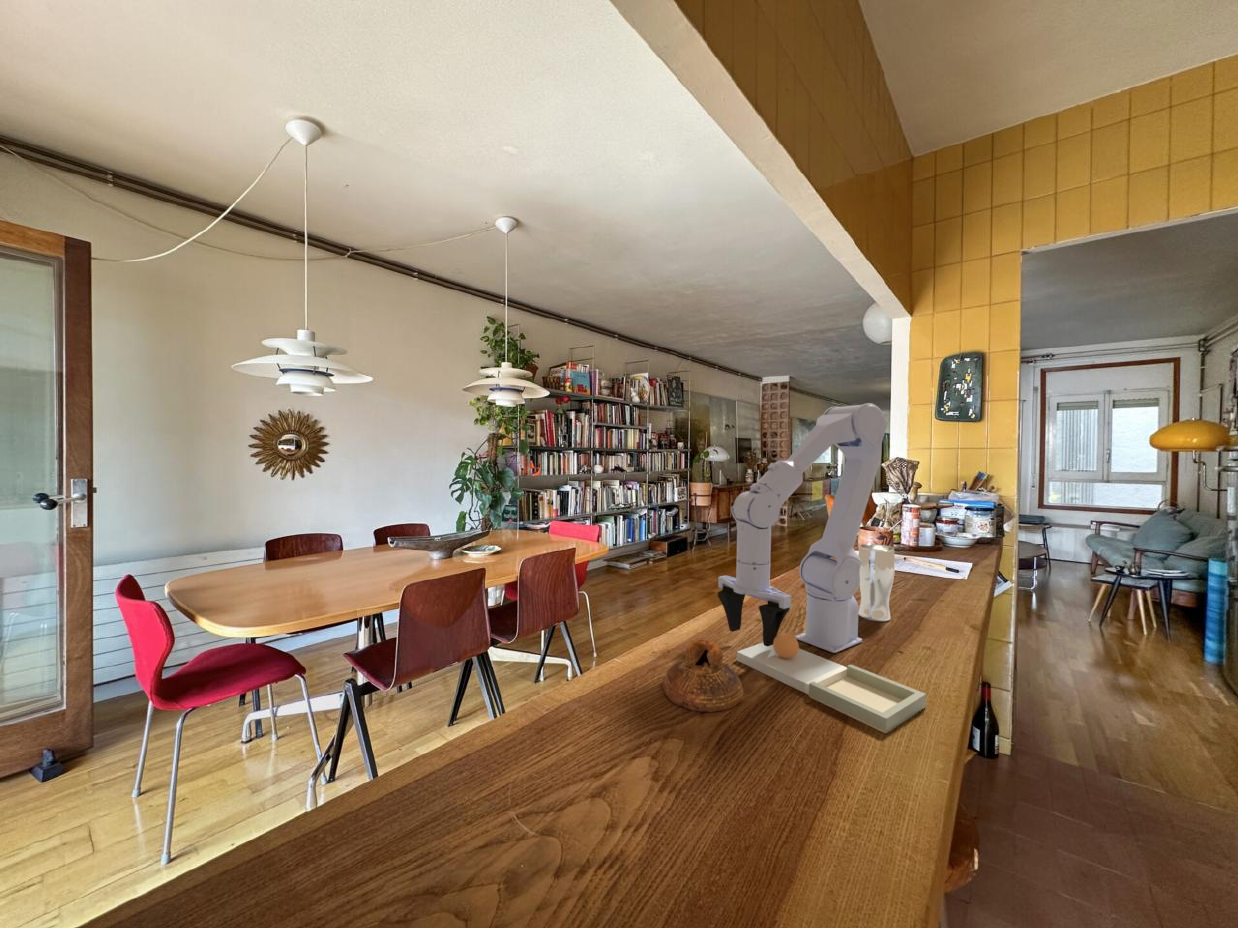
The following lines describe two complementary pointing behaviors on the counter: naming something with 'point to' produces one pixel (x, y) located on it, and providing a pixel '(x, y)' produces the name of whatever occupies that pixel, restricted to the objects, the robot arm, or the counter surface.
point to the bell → (703, 680)
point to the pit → (870, 699)
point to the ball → (786, 645)
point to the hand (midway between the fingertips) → (751, 637)
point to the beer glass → (876, 580)
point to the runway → (792, 667)
